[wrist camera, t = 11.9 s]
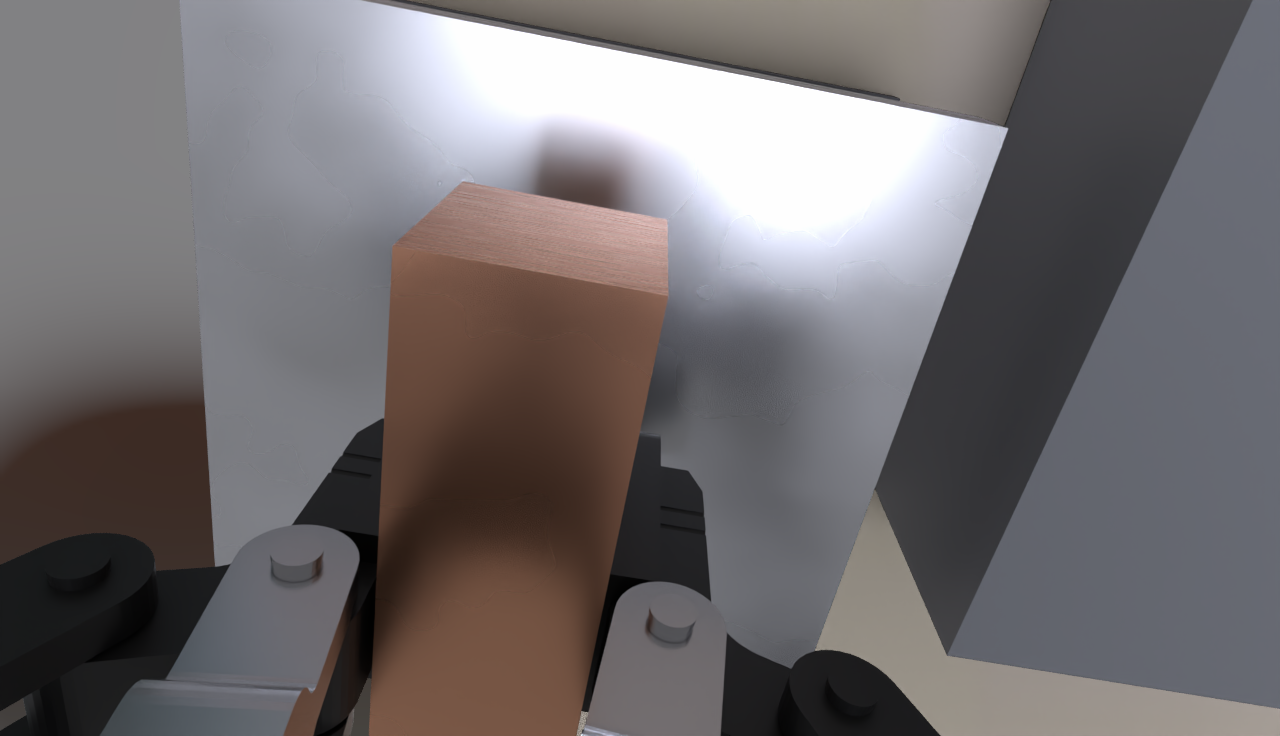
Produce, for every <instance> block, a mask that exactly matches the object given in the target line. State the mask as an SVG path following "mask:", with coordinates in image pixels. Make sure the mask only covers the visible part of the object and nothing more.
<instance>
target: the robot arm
mask: <svg viewBox="0 0 1280 736" xmlns="http://www.w3.org/2000/svg"><path fill="white" fill-rule="evenodd" d="M383 433H384V419H383V418H382V419H380V420H378V421H377V422H375V423H373V424H371V425H370V426H368V427H366V428H364V429H363V430H361V431H359V432H357V433H356V435H355V436H354V437H353V439H352V440H351V442H350V443H349V445H348V446H347V447H346V449H345V450H344V452H343V455H342V456H340V457H339V459H338V460H337V462H336V463H335V464H334V466H333V467H332V470H331V473H328V474H327V476H326V477H325V479H324V480H323V481H322V483H321V484H320V486H319V487H318V489H317V490H316V491H315V493H314V494H313V496H312V497H311V498H310V500H309V501H308V503H307V504H306V506H305V507H304V508H303V510H302V511H301V513H300V514H299V515H298V517H297V518H296V520H295V521H294V523H293V524H292V525H291V526H285V527H281V528H277V529H273V530H270V531H268V532H265V533H263V534H261V535H259V536H257V537H255V538H253V539H252V540H250V541H249V542H248V543H246V544H245V545H244V546H243V547H242V548H241V549H240V550H239V552H238V553H237V554H236V556H235V557H234V559H233V561H232V563H231V564H228V565H223V566H217V567H208V568H194V569H179V570H163V571H156V568H155V559H154V556H153V553H152V551H151V550H150V548H149V547H148V546H147V545H145V544H144V543H143V542H141V541H139V540H137V539H135V538H132V537H129V536H126V535H120V534H111V533H92V534H84V535H78V536H73V537H68V538H64V539H61V540H58V541H55V542H52V543H50V544H47V545H44V546H42V547H39V548H37V549H35V550H33V551H30V552H28V553H26V554H24V555H21V556H19V557H17V558H15V559H12V560H10V561H8V562H6V563H3V564H1V565H0V711H1V710H3V709H5V708H6V707H8V706H9V705H11V704H13V703H15V702H17V701H19V700H20V699H22V698H23V701H24V705H25V710H26V716H24V717H23V718H21V719H19V720H17V721H16V722H14V723H12V724H11V725H9V726H7V727H6V728H4V729H3V730H1V731H0V736H350V734H351V730H352V726H353V720H354V707H355V705H356V703H357V701H358V699H359V696H360V694H361V692H362V690H363V687H364V685H365V683H366V680H367V678H371V679H372V661H373V640H374V620H375V599H376V578H377V558H378V537H379V516H380V495H381V475H382V454H383ZM705 532H706V528H705V517H704V502H703V491H702V490H701V488H700V487H699V485H698V484H697V483H696V481H695V480H694V478H693V477H692V475H691V474H690V472H689V471H687V470H682V469H676V468H670V467H664V466H661V435H659V434H653V433H647V432H641V431H640V434H639V439H638V443H637V448H636V453H635V458H634V462H633V467H632V472H631V477H630V481H629V486H628V491H627V496H626V501H625V505H624V510H623V515H622V520H621V524H620V529H619V534H618V539H617V543H616V548H615V553H614V558H613V563H612V567H611V572H610V577H609V582H608V586H607V591H606V596H605V601H604V605H603V610H602V615H601V620H600V624H599V629H598V634H597V639H596V644H595V648H594V653H593V658H592V663H591V667H590V672H589V677H588V682H587V686H586V691H585V696H584V701H583V705H582V710H581V711H584V712H588V716H587V720H586V724H585V728H584V730H583V731H582V734H581V736H940V735H939V734H938V733H937V731H936V730H935V729H934V728H933V727H932V726H931V725H930V723H929V722H928V721H927V720H926V719H925V718H924V717H923V715H922V714H921V713H920V712H919V711H918V710H917V709H916V707H915V706H914V705H913V704H912V703H911V702H910V701H909V699H908V698H907V697H906V696H905V695H904V694H903V693H902V691H901V690H900V689H899V688H898V687H897V686H896V685H895V683H894V682H893V681H892V680H891V679H890V678H889V677H888V676H887V675H886V674H884V673H883V672H882V671H881V670H879V669H878V668H877V667H875V666H873V665H872V664H870V663H869V662H867V661H865V660H863V659H861V658H859V657H856V656H854V655H851V654H848V653H844V652H840V651H833V650H820V651H814V652H810V653H808V654H805V655H804V656H802V657H801V658H799V659H798V660H797V661H796V662H795V663H794V665H793V667H792V669H791V668H788V667H786V666H784V665H781V664H779V663H777V662H774V661H772V660H770V659H767V658H765V657H762V656H760V655H758V654H756V653H754V652H752V651H750V650H749V649H747V648H745V647H744V646H742V645H741V644H739V643H738V642H737V641H736V640H734V639H733V638H732V637H731V636H730V635H729V634H728V633H727V630H726V625H725V621H724V619H723V617H722V615H721V613H720V612H719V610H718V609H717V608H716V606H715V605H714V604H713V603H712V602H711V591H710V579H709V566H708V553H707V540H706V535H705Z"/></svg>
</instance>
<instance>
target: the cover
mask: <svg viewBox="0 0 1280 736" xmlns="http://www.w3.org/2000/svg"><path fill="white" fill-rule="evenodd" d="M179 2H180V18H181V34H182V48H183V49H182V50H183V64H184V65H183V66H184V81H185V97H186V111H187V112H186V113H187V129H188V143H189V160H190V176H191V192H192V207H193V224H194V239H195V255H196V270H197V286H198V303H199V319H200V333H201V350H202V366H203V382H204V398H205V414H206V429H207V445H208V459H209V477H210V493H211V507H212V524H213V539H214V555H215V567H217V566H223V565H228V564H231V563H232V561H233V559H234V557H235V556H236V554H237V553H238V552H239V550H240V549H241V548H242V547H243V546H244V545H245V544H246V543H248V542H249V541H250V540H252V539H253V538H255V537H257V536H259V535H261V534H263V533H265V532H268V531H270V530H273V529H277V528H281V527H285V526H291V525H292V524H293V523H294V521H295V520H296V518H297V517H298V515H299V514H300V513H301V511H302V510H303V508H304V507H305V506H306V504H307V503H308V501H309V500H310V498H311V497H312V496H313V494H314V493H315V491H316V490H317V489H318V487H319V486H320V484H321V483H322V481H323V480H324V479H325V477H326V476H327V474H328V473H331V470H332V467H333V466H334V464H335V463H336V462H337V460H338V459H339V457H340V456H342V455H343V452H344V450H345V449H346V447H347V446H348V445H349V443H350V442H351V440H352V439H353V437H354V436H355V435H356V433H357V432H359V431H361V430H363V429H364V428H366V427H368V426H370V425H371V424H373V423H375V422H377V421H378V420H380V419H382V418H383V419H384V433H383V454H382V475H381V495H380V516H379V537H378V558H377V578H376V599H375V620H374V640H373V661H372V682H371V703H370V723H369V736H576V734H577V729H578V725H579V720H580V715H581V710H582V705H583V701H584V696H585V691H586V686H587V682H588V677H589V672H590V667H591V663H592V658H593V653H594V648H595V644H596V639H597V634H598V629H599V624H600V620H601V615H602V610H603V605H604V601H605V596H606V591H607V586H608V582H609V577H610V572H611V567H612V563H613V558H614V553H615V548H616V543H617V539H618V534H619V529H620V524H621V520H622V515H623V510H624V505H625V501H626V496H627V491H628V486H629V481H630V477H631V472H632V467H633V462H634V458H635V453H636V448H637V443H638V439H639V434H640V431H641V432H647V433H653V434H659V435H661V466H664V467H670V468H676V469H682V470H687V471H689V472H690V474H691V475H692V477H693V478H694V480H695V481H696V483H697V484H698V485H699V487H700V488H701V490H702V491H703V502H704V517H705V528H706V532H705V535H706V540H707V553H708V566H709V579H710V591H711V602H712V603H713V604H714V605H715V606H716V608H717V609H718V610H719V612H720V613H721V615H722V617H723V619H724V621H725V625H726V630H727V633H728V634H729V635H730V636H731V637H732V638H733V639H734V640H736V641H737V642H738V643H739V644H741V645H742V646H744V647H745V648H747V649H749V650H750V651H752V652H754V653H756V654H758V655H760V656H762V657H765V658H767V659H770V660H772V661H774V662H777V663H779V664H781V665H784V666H786V667H788V668H791V669H792V667H793V665H794V663H795V662H796V661H797V660H798V659H799V658H801V657H802V656H804V655H805V654H808V653H810V652H814V651H815V648H816V645H817V643H818V640H819V637H820V635H821V632H822V629H823V627H824V624H825V621H826V619H827V616H828V613H829V610H830V608H831V605H832V602H833V600H834V597H835V594H836V592H837V589H838V586H839V583H840V581H841V578H842V575H843V573H844V570H845V567H846V565H847V562H848V559H849V557H850V554H851V551H852V548H853V546H854V543H855V540H856V538H857V535H858V532H859V530H860V527H861V524H862V522H863V519H864V516H865V513H866V511H867V508H868V505H869V503H870V500H871V497H872V495H873V492H874V489H875V486H876V484H877V481H878V478H879V476H880V473H881V470H882V468H883V465H884V462H885V460H886V457H887V454H888V451H889V449H890V446H891V443H892V441H893V438H894V435H895V433H896V430H897V427H898V424H899V422H900V419H901V416H902V414H903V411H904V408H905V406H906V403H907V400H908V398H909V395H910V392H911V389H912V387H913V384H914V381H915V379H916V376H917V373H918V371H919V368H920V365H921V363H922V360H923V357H924V354H925V352H926V349H927V346H928V344H929V341H930V338H931V336H932V333H933V330H934V327H935V325H936V322H937V319H938V317H939V314H940V311H941V309H942V306H943V303H944V301H945V298H946V295H947V292H948V290H949V287H950V284H951V282H952V279H953V276H954V274H955V271H956V268H957V265H958V263H959V260H960V257H961V255H962V252H963V249H964V247H965V244H966V241H967V239H968V236H969V233H970V230H971V228H972V225H973V222H974V220H975V217H976V214H977V212H978V209H979V206H980V204H981V201H982V198H983V195H984V193H985V190H986V187H987V185H988V182H989V179H990V177H991V174H992V171H993V168H994V166H995V163H996V160H997V158H998V155H999V152H1000V150H1001V147H1002V144H1003V142H1004V139H1005V136H1006V133H1007V131H1008V128H1007V127H1004V126H1001V125H999V124H996V123H994V122H991V121H988V120H986V119H983V118H980V117H977V116H972V115H967V114H962V113H957V112H952V111H947V110H942V109H937V108H931V107H926V106H921V105H916V104H911V103H906V102H901V101H896V100H891V99H886V98H881V97H876V96H871V95H866V94H861V93H856V92H851V91H846V90H841V89H835V88H830V87H825V86H820V85H815V84H810V83H805V82H800V81H795V80H790V79H785V78H780V77H775V76H770V75H765V74H760V73H755V72H750V71H745V70H739V69H734V68H729V67H724V66H719V65H714V64H709V63H704V62H699V61H694V60H689V59H684V58H679V57H674V56H669V55H664V54H659V53H654V52H649V51H643V50H638V49H633V48H628V47H623V46H618V45H613V44H608V43H603V42H598V41H593V40H588V39H583V38H578V37H573V36H568V35H563V34H558V33H553V32H547V31H542V30H537V29H532V28H527V27H522V26H517V25H512V24H507V23H502V22H497V21H492V20H487V19H482V18H477V17H472V16H467V15H462V14H457V13H451V12H446V11H441V10H436V9H431V8H426V7H421V6H416V5H411V4H406V3H401V2H396V1H391V0H179Z"/></svg>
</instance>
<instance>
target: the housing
mask: <svg viewBox="0 0 1280 736" xmlns="http://www.w3.org/2000/svg"><path fill="white" fill-rule="evenodd" d="M1005 127H1007V128H1008V131H1007V133H1006V136H1005V139H1004V142H1003V144H1002V147H1001V150H1000V152H999V155H998V158H997V160H996V163H995V166H994V168H993V171H992V174H991V177H990V179H989V182H988V185H987V187H986V190H985V193H984V195H983V198H982V201H981V204H980V206H979V209H978V212H977V214H976V217H975V220H974V222H973V225H972V228H971V230H970V233H969V236H968V239H967V241H966V244H965V247H964V249H963V252H962V255H961V257H960V260H959V263H958V265H957V268H956V271H955V274H954V276H953V279H952V282H951V284H950V287H949V290H948V292H947V295H946V298H945V301H944V303H943V306H942V309H941V311H940V314H939V317H938V319H937V322H936V325H935V327H934V330H933V333H932V336H931V338H930V341H929V344H928V346H927V349H926V352H925V354H924V357H923V360H922V363H921V365H920V368H919V371H918V373H917V376H916V379H915V381H914V384H913V387H912V389H911V392H910V395H909V398H908V400H907V403H906V406H905V408H904V411H903V414H902V416H901V419H900V422H899V424H898V427H897V430H896V433H895V435H894V438H893V441H892V443H891V446H890V449H889V451H888V454H887V457H886V460H885V462H884V465H883V468H882V470H881V473H880V476H879V478H878V481H877V484H876V486H875V490H876V492H877V494H878V497H879V499H880V501H881V504H882V506H883V508H884V511H885V513H886V515H887V518H888V520H889V522H890V525H891V527H892V529H893V532H894V534H895V536H896V538H897V541H898V543H899V545H900V548H901V550H902V552H903V555H904V557H905V559H906V562H907V564H908V566H909V569H910V571H911V573H912V576H913V578H914V580H915V582H916V585H917V587H918V589H919V592H920V594H921V596H922V599H923V601H924V603H925V606H926V608H927V610H928V613H929V615H930V617H931V620H932V622H933V624H934V627H935V629H936V631H937V633H938V636H939V638H940V640H941V643H942V645H943V647H944V650H945V652H946V654H947V656H953V657H960V658H966V659H972V660H978V661H985V662H991V663H997V664H1003V665H1010V666H1016V667H1022V668H1029V669H1035V670H1041V671H1047V672H1054V673H1060V674H1066V675H1072V676H1079V677H1085V678H1091V679H1097V680H1104V681H1110V682H1116V683H1123V684H1129V685H1135V686H1141V687H1148V688H1154V689H1160V690H1166V691H1173V692H1179V693H1185V694H1191V695H1198V696H1204V697H1210V698H1216V699H1223V700H1229V701H1235V702H1242V703H1248V704H1254V705H1260V706H1267V707H1273V708H1279V709H1280V0H1051V2H1050V5H1049V8H1048V11H1047V13H1046V16H1045V19H1044V21H1043V24H1042V27H1041V30H1040V32H1039V35H1038V38H1037V41H1036V43H1035V46H1034V49H1033V51H1032V54H1031V57H1030V60H1029V62H1028V65H1027V68H1026V71H1025V73H1024V76H1023V79H1022V81H1021V84H1020V87H1019V90H1018V92H1017V95H1016V98H1015V100H1014V103H1013V106H1012V109H1011V111H1010V114H1009V117H1008V120H1007V122H1006V125H1005Z"/></svg>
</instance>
